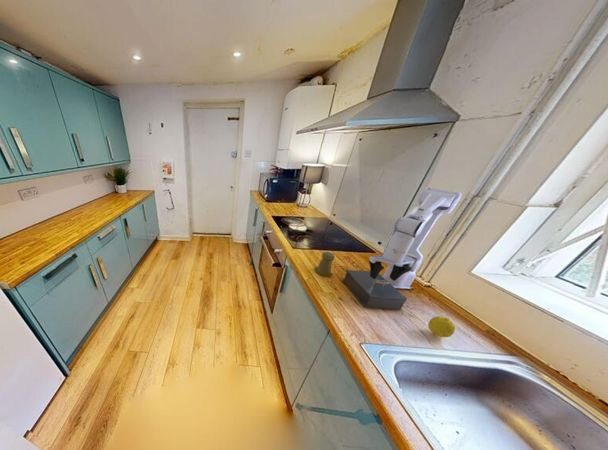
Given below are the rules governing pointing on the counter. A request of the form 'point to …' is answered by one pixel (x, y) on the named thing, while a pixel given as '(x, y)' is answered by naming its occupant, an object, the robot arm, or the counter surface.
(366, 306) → the grey hinged box
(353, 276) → the lid
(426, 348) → the counter surface
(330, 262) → the dark chess pawn
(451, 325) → the lemon
